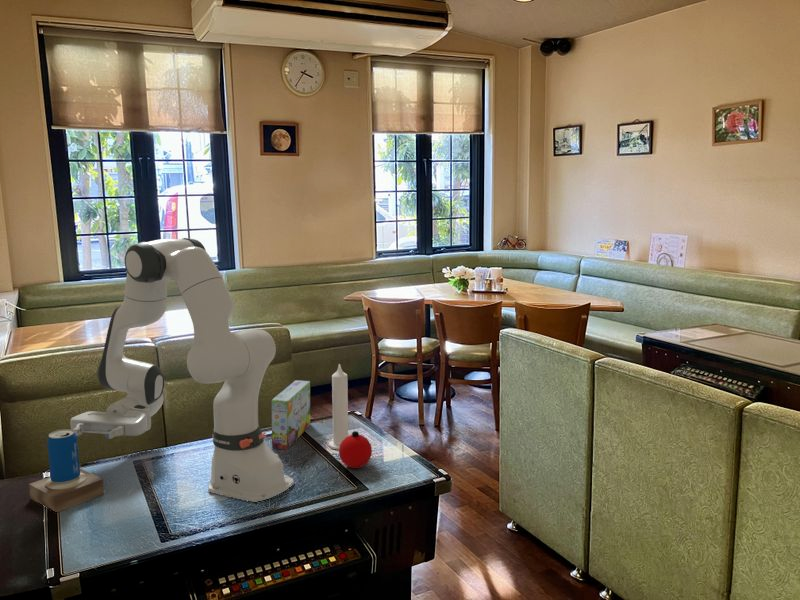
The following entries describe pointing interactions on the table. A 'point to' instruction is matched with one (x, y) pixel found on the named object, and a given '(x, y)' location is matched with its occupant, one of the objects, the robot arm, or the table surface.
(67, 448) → the beverage can
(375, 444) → the table surface
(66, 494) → the base block
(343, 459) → the ornament
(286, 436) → the snack box
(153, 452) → the table surface
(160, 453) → the table surface
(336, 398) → the candle
